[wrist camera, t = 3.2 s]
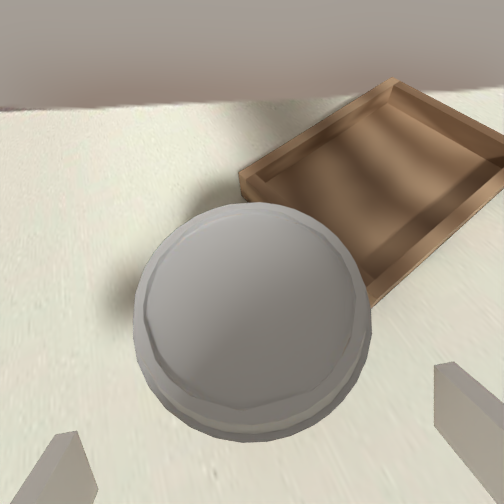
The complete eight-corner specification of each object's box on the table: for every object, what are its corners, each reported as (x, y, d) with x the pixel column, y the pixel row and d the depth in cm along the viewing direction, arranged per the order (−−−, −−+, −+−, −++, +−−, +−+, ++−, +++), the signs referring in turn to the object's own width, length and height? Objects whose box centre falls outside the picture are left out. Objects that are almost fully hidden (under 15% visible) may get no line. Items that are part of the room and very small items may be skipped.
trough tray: (383, 103, 35) (392, 76, 32) (514, 178, 28) (538, 153, 26) (241, 195, 29) (238, 172, 27) (364, 314, 23) (376, 299, 20)
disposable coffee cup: (171, 411, 21) (68, 392, 10) (217, 283, 25) (178, 177, 15) (316, 457, 19) (369, 492, 8) (337, 310, 23) (390, 214, 13)
